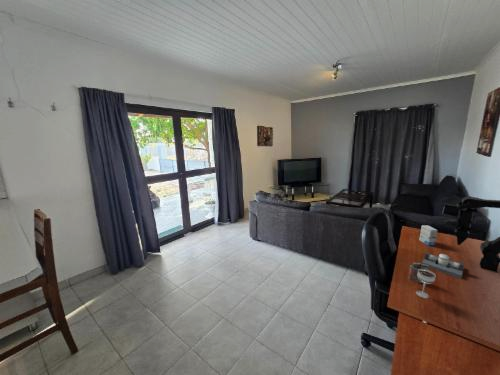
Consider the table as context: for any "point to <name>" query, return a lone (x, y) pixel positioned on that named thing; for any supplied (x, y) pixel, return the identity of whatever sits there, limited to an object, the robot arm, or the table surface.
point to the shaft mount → (454, 269)
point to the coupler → (443, 260)
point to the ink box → (428, 235)
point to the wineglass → (425, 280)
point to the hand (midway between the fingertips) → (459, 241)
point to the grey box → (416, 271)
